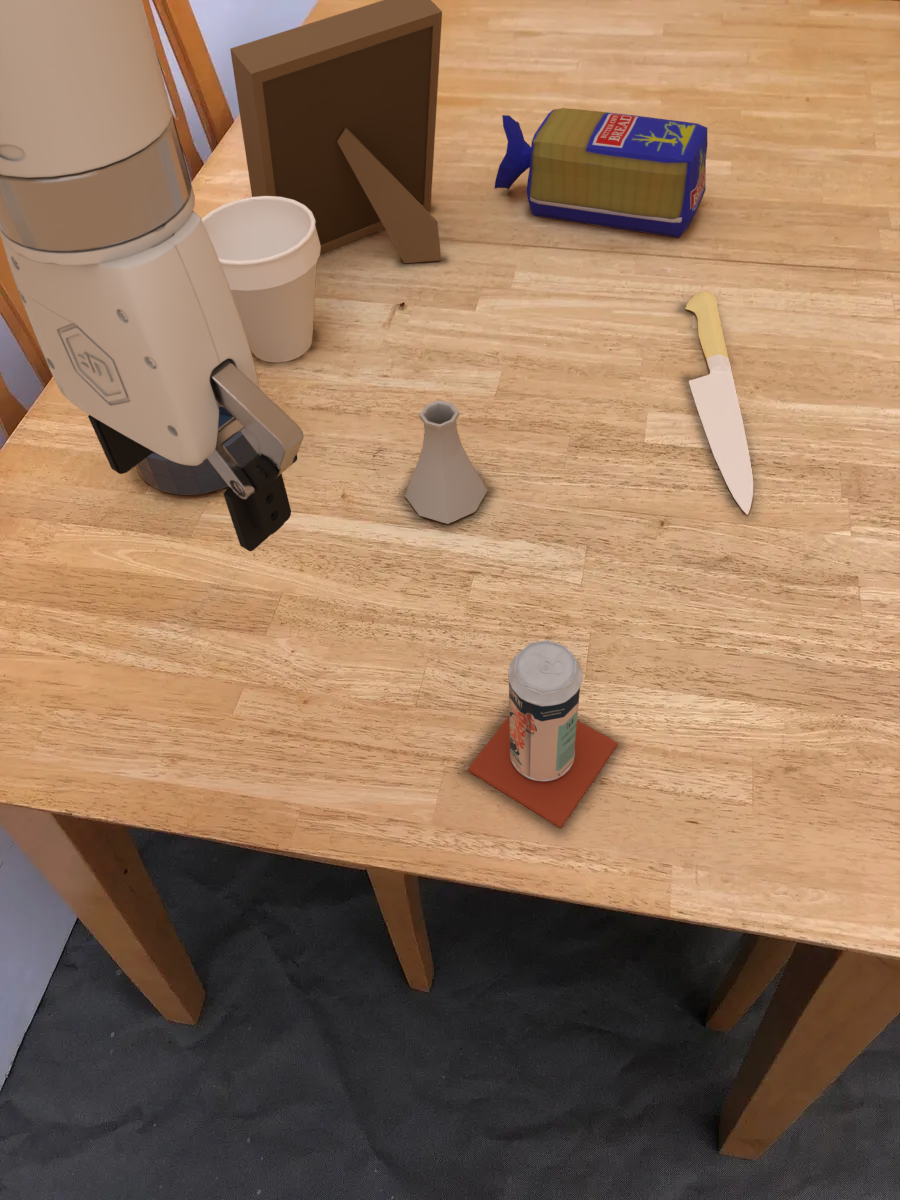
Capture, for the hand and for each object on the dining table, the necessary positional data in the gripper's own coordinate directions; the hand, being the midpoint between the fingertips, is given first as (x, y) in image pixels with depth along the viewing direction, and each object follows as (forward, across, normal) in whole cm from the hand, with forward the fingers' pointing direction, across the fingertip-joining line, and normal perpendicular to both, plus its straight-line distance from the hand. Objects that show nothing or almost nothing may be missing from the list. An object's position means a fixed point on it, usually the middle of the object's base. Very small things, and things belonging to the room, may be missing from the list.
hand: (200, 493), depth 49 cm
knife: (+27, +8, +54) cm, 60 cm away
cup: (+27, -35, +36) cm, 58 cm away
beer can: (+27, +16, +10) cm, 33 cm away
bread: (+26, -20, +78) cm, 85 cm away
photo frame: (+27, -38, +56) cm, 73 cm away
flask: (+27, -6, +28) cm, 39 cm away
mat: (+27, +16, +10) cm, 33 cm away
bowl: (+27, -30, +20) cm, 45 cm away
